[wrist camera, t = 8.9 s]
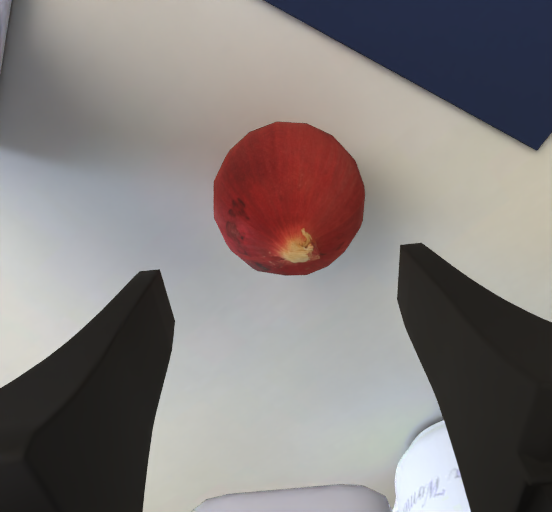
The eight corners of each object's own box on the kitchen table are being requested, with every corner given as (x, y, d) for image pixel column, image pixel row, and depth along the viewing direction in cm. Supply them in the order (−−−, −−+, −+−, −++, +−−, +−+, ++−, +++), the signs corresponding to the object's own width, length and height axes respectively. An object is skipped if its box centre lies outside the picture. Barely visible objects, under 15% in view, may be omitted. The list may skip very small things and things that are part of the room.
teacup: (515, 371, 29) (592, 495, 22) (549, 457, 34) (619, 578, 28) (319, 441, 32) (334, 568, 26) (377, 510, 38) (402, 629, 31)
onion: (281, 240, 23) (290, 355, 16) (193, 164, 21) (162, 263, 14) (372, 164, 21) (425, 260, 14) (286, 69, 19) (301, 132, 12)
